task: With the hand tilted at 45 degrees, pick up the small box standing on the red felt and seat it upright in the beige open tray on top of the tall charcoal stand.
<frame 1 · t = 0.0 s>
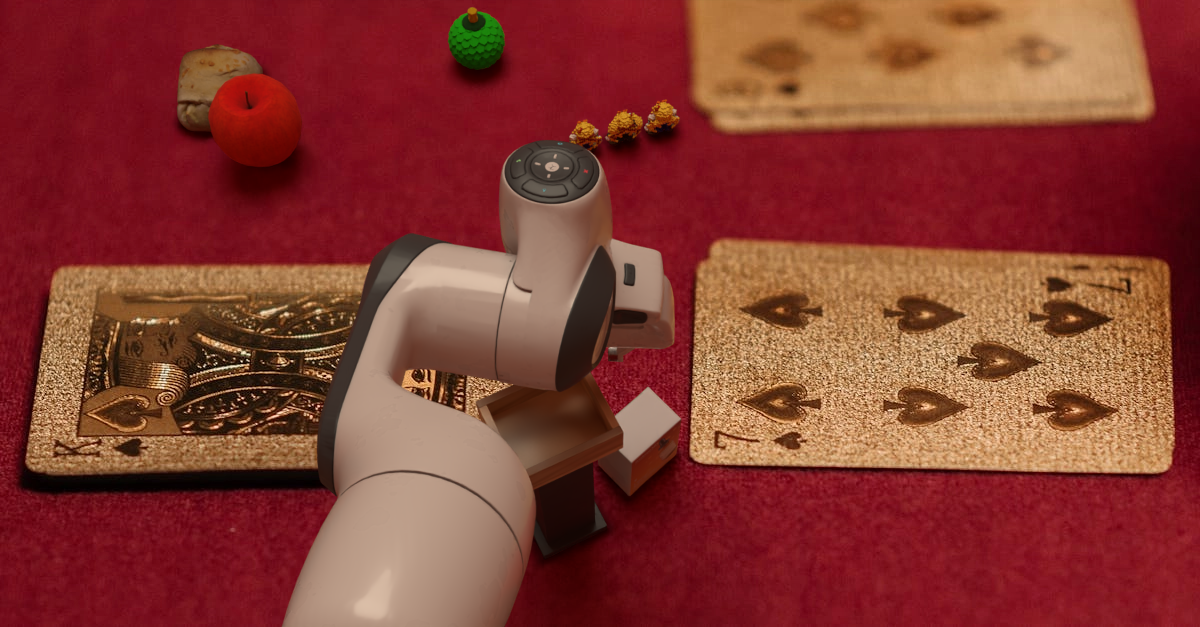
hand: (566, 353, 104), 28 cm above the table, tool pointing down, fingers open, 8 cm apart
beige open tray: (550, 432, 105), resting on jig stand
ornament: (479, 61, 160), on the table
apple: (271, 157, 152), on the table
small box: (637, 460, 129), on the table
pastry: (223, 100, 157), on the table
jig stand: (561, 514, 126), on the table
figurine set: (623, 143, 152), on the table
beer can: (459, 544, 124), on the table
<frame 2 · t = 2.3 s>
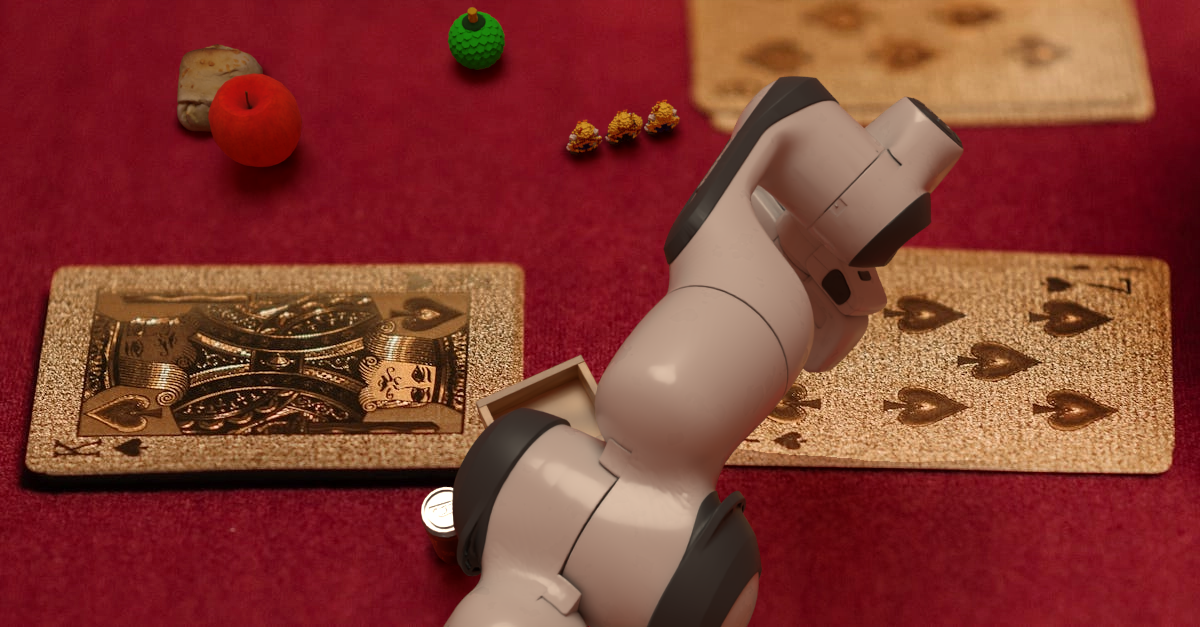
hand: (731, 328, 113), 21 cm above the table, tool tilted 40°, fingers open, 8 cm apart
nothing on the table moved.
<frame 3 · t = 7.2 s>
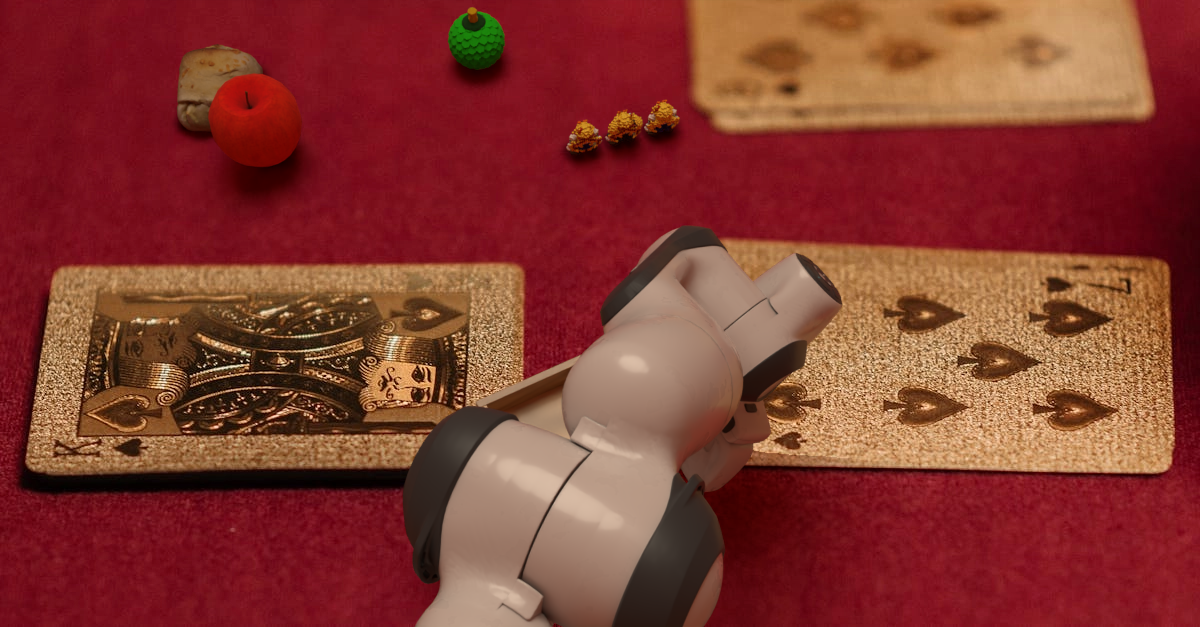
hand: (633, 442, 124), 6 cm above the table, tool tilted 45°, fingers closed on small box, 6 cm apart
small box: (637, 460, 129), on the table, touching gripper
everything else where it was.
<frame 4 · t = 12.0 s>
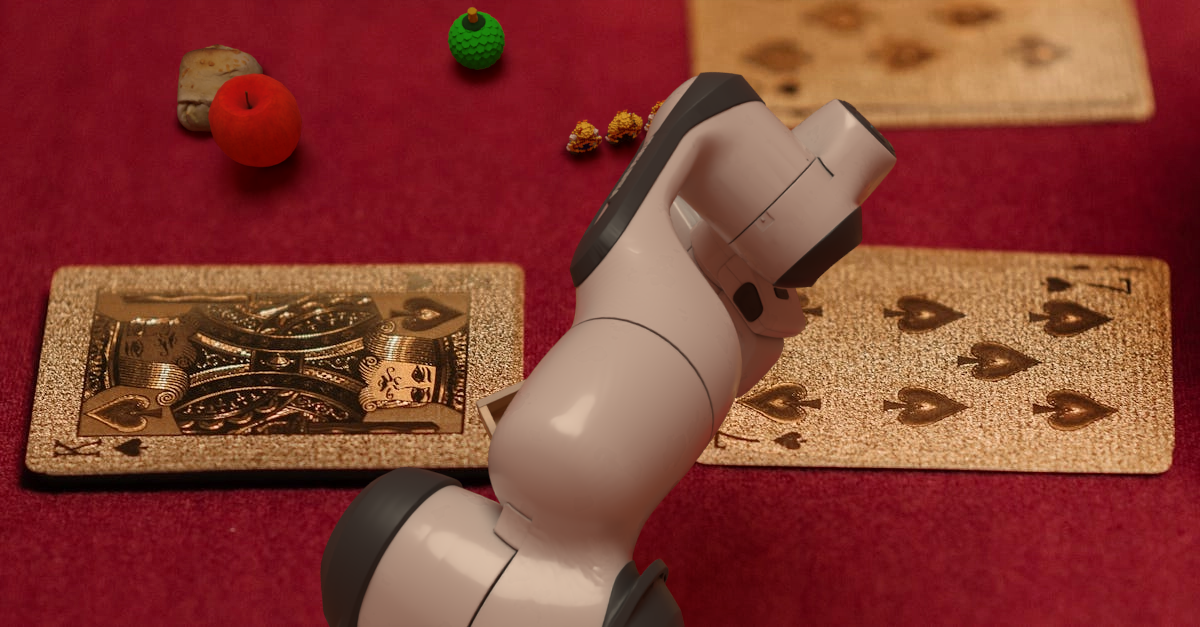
hand: (638, 346, 103), 30 cm above the table, tool tilted 45°, fingers closed on small box, 6 cm apart
small box: (639, 371, 109), point 23 cm above the table, touching gripper
everything else where it was.
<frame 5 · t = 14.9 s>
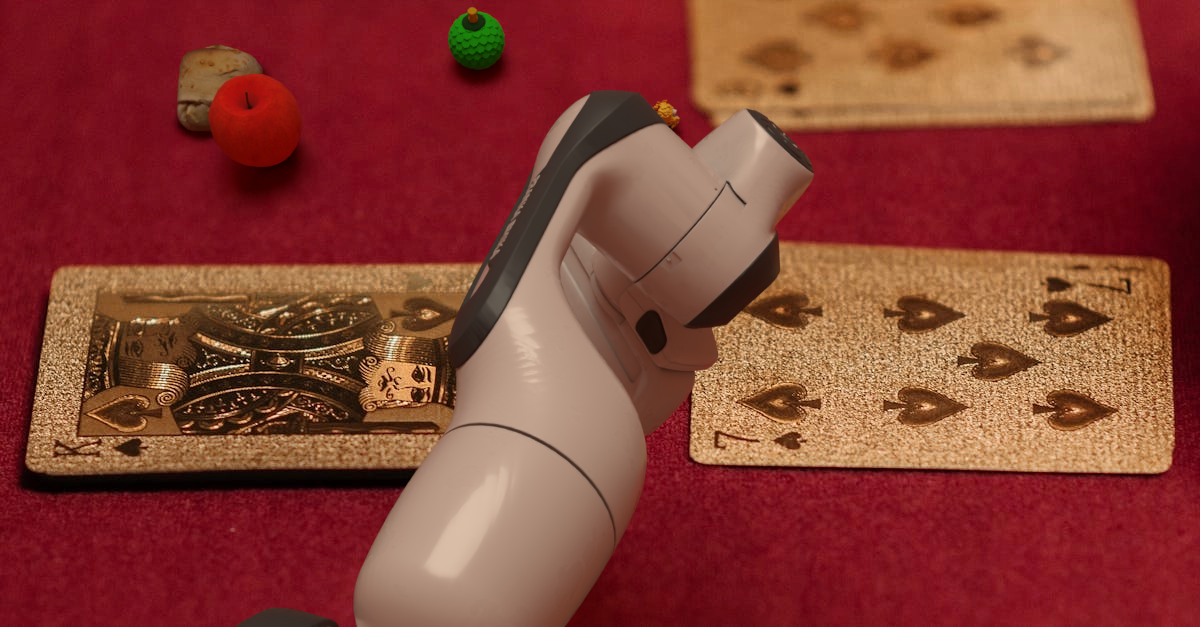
hand: (542, 377, 94), 36 cm above the table, tool tilted 45°, fingers closed on small box, 6 cm apart
small box: (548, 402, 100), point 30 cm above the table, touching gripper
everything else where it was.
when the fingers open (31 cm above the table, at t = 17.1 s): small box stays where it is, resting on beige open tray.
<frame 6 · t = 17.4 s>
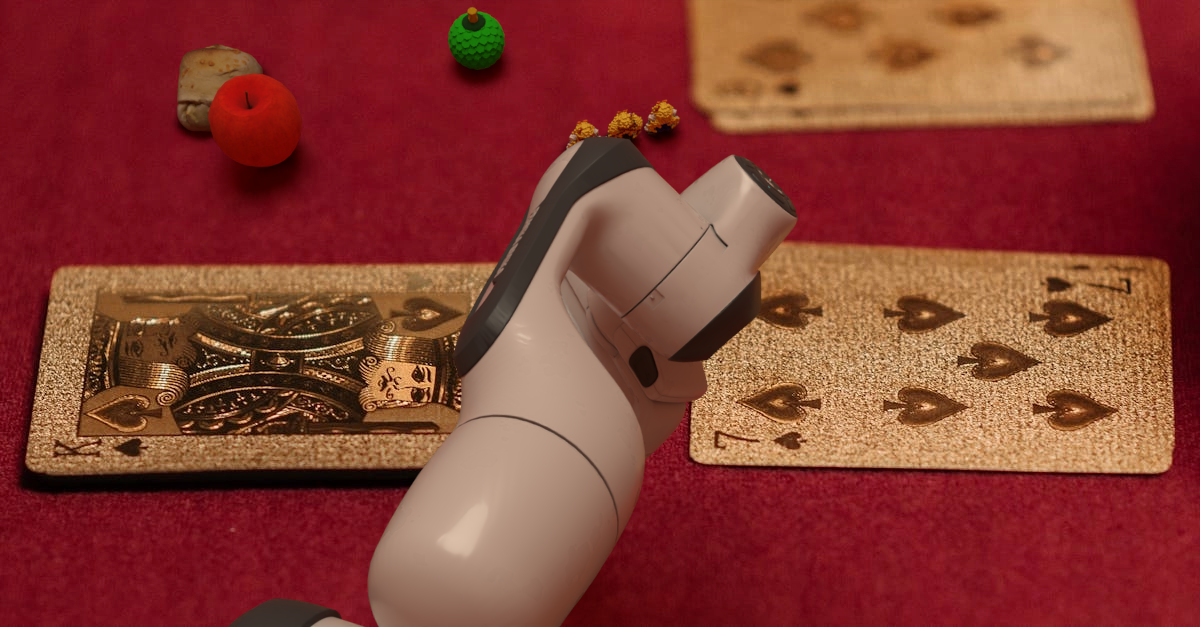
hand: (540, 404, 98), 31 cm above the table, tool tilted 45°, fingers open, 8 cm apart
small box: (547, 428, 104), point 25 cm above the table, touching beige open tray
everything else where it was.
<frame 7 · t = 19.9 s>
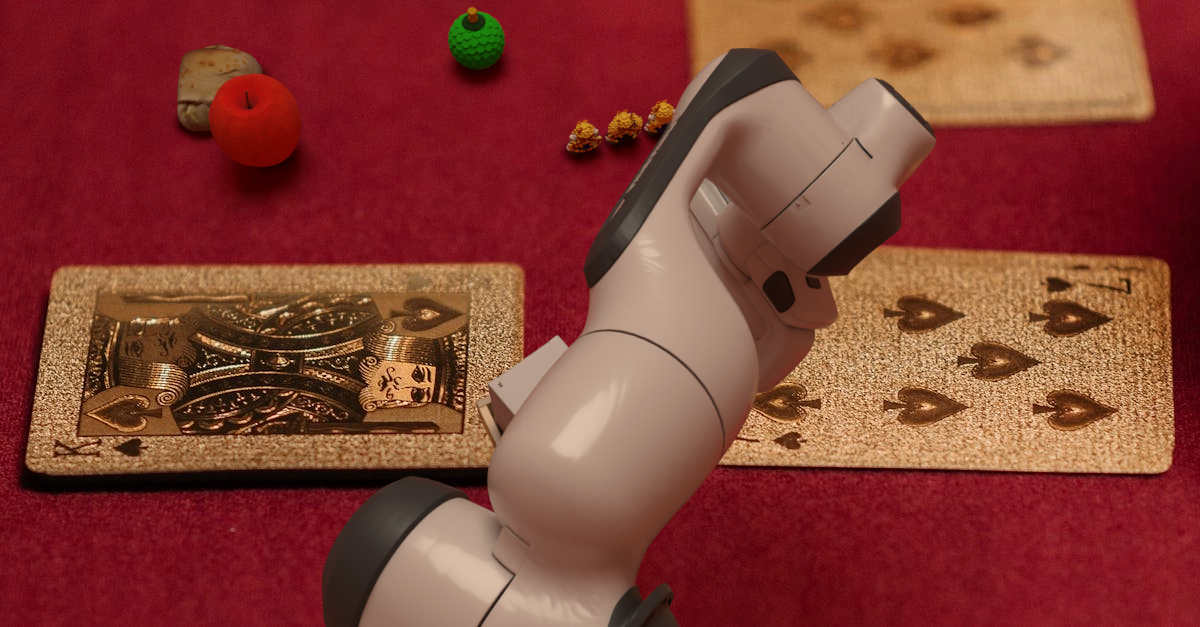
hand: (660, 337, 99), 34 cm above the table, tool tilted 45°, fingers open, 8 cm apart
nothing on the table moved.
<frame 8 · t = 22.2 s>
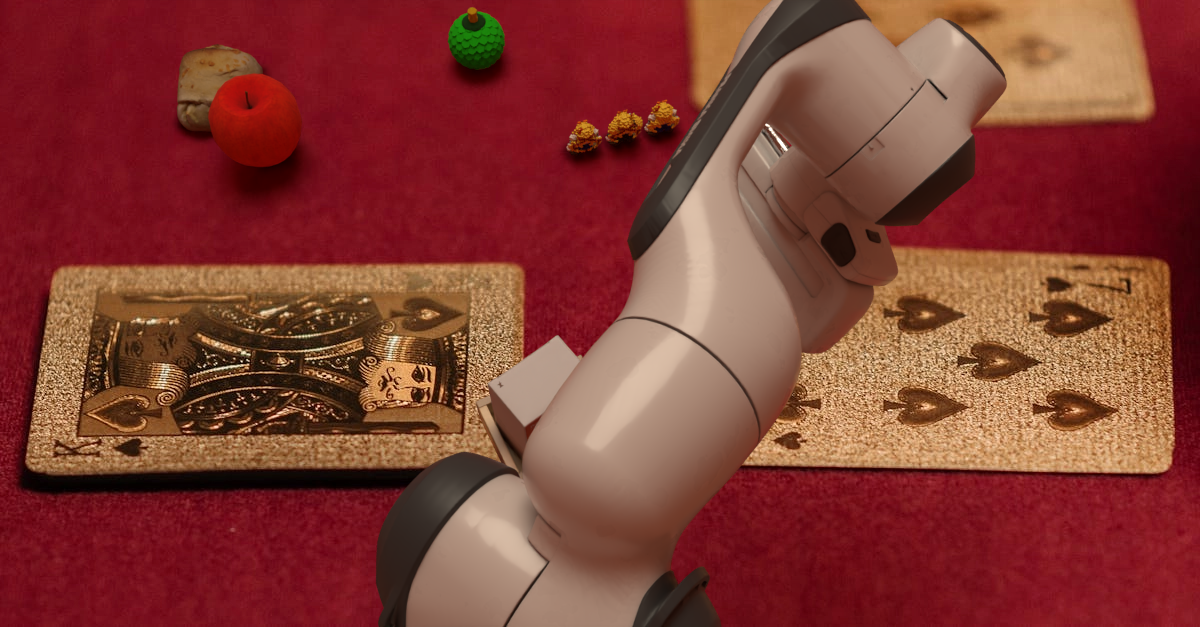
hand: (707, 299, 94), 39 cm above the table, tool tilted 45°, fingers open, 8 cm apart
nothing on the table moved.
at the end: small box 0.4 cm off-centre on the beige open tray, point 0.6 cm above the beige open tray's base; small box tilted 0°; the gripper is holding nothing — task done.
